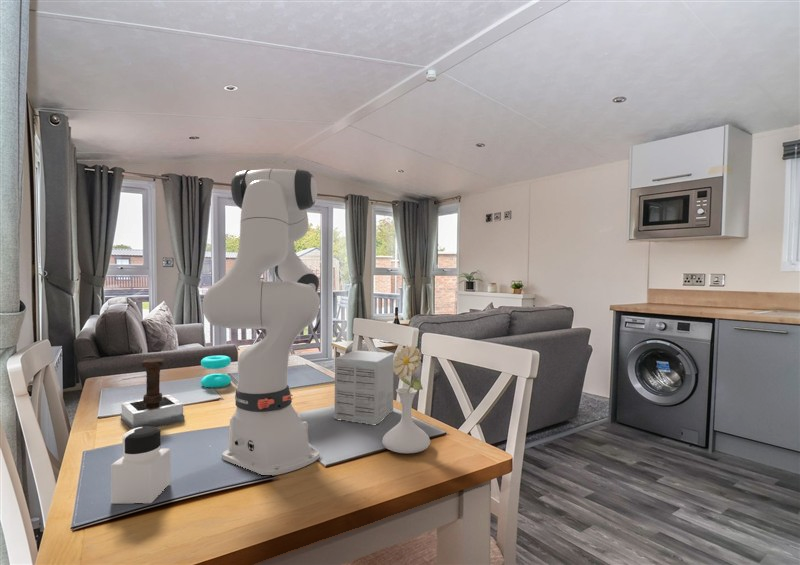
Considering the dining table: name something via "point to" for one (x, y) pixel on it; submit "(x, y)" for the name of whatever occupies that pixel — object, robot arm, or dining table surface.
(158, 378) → the bolt
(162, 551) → the dining table surface
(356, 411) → the supplement box
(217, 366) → the donuts
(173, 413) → the docking socket
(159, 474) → the medicine bottle
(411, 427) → the flower in vase
